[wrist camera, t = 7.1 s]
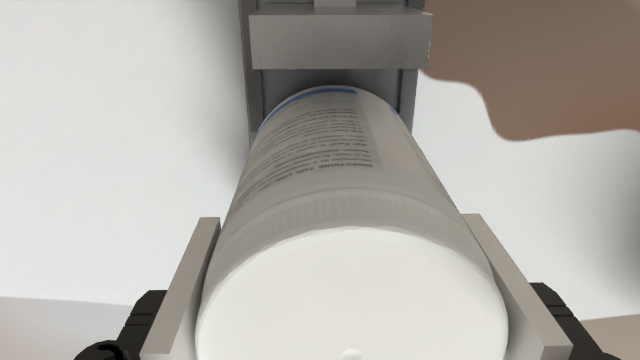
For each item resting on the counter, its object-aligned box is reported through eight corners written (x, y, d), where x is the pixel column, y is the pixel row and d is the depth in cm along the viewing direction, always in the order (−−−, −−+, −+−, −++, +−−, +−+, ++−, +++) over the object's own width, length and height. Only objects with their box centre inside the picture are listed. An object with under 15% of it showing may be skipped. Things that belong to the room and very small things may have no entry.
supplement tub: (237, 199, 27) (153, 419, 13) (281, 55, 23) (222, 165, 9) (377, 241, 28) (425, 479, 15) (441, 113, 24) (587, 280, 11)
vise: (426, -102, 22) (494, -148, 14) (392, 259, 32) (419, 354, 24) (236, -103, 22) (192, -149, 14) (263, 261, 32) (248, 357, 24)
